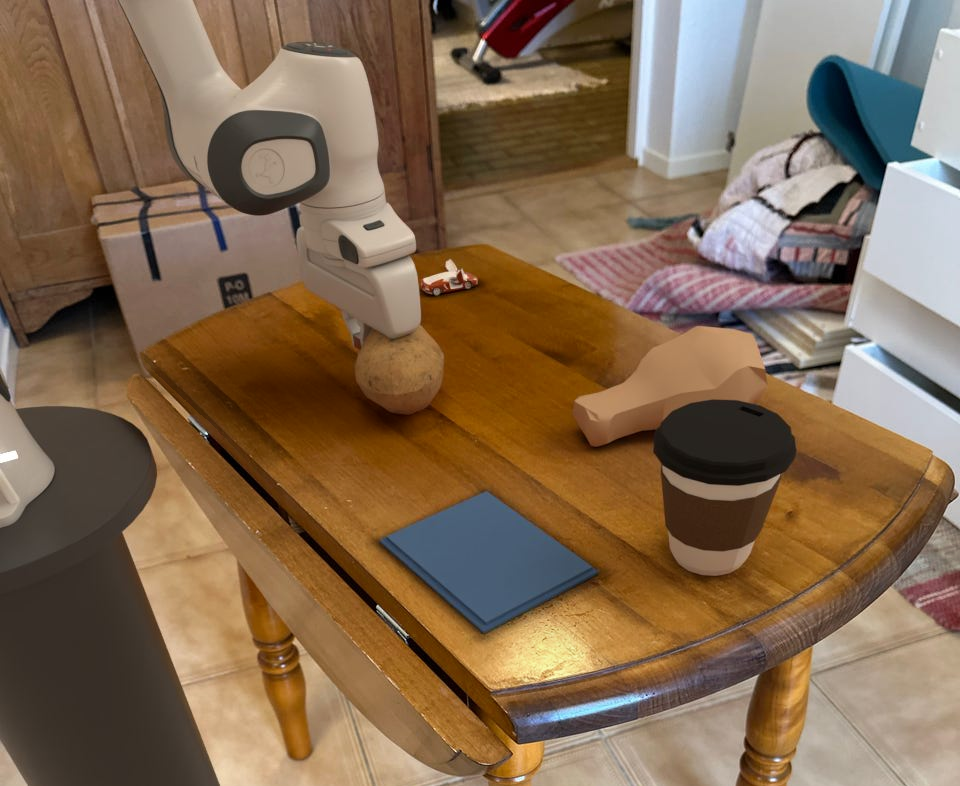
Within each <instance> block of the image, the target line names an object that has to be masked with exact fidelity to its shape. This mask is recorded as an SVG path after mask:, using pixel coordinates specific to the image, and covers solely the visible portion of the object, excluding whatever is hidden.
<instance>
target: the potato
mask: <svg viewBox="0 0 960 786" xmlns="http://www.w3.org/2000/svg"><path fill="white" fill-rule="evenodd" d="M444 365H445V355H444V353H443V351H442V349H441V347H440V346H439V344H438V343H437V342H436V341H435V339H434V338H433V337H432V336H431V335H430V334H429V333H428V332H427V331H426V329H425V328H424V327H423V325H421V324H420V325H419V327H418V329H417V330H416V331H415V332H413V333H411V334H408V335H406V336H403V337H400V338H397V339H390V338H388V337H387V336H385V335H384V334H382V333H380V332H378V331H377V330H375V329H373V328H372V330H371V331H370V333H369V334H368V336H367V338H366V339H365V341H364V343H363V346H362V348H361V350H358V353H357V357H356V360H355V363H354V375H355V381H356V383H357V385H358V386H359V388H360V390H361V391H362V393H363V394H364V396H365V397H366V399H369V400H371V401H372V402H374V403H375V404H377V405H379V406H380V407H382V408H383V409H385V410H386V411H387V412H389V413H391V414H398V415H404V416H405V415H407V416H411V415H413V414H415V413H417V412H420V411H422V410H425V409H426V408H427V407H429V406H430V404H431V402H432V401H433V400H434V399H435V397H436V395H437V393H438V392H439V390H440V388H441V386H442V384H443V379H444V367H445V366H444Z"/></svg>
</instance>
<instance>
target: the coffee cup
mask: <svg viewBox="0 0 960 786" xmlns="http://www.w3.org/2000/svg"><path fill="white" fill-rule="evenodd" d="M653 437H654V438H653V449H652V452H653V454H654V455H655V457H656V458H657V459H658V461H659V463H660V479H661V490H662V502H663V512H664V524H665V528H666V529H667V531H668V532H667V534H668V542H669V544H668V545H669V550H670V552H671V554H672V556H673V558H674V560H675V561H676V563H677V564H678V565H679V566H681V567H682V568H683V569H685V570H687V571H688V572H691V573H695V574H698V575H700V576H711V577H718V576H723V575H727V574H728V575H729V574H731V573H733V572H734V571H736V570H738V569H740V568H741V567H742V565H743V564H744V563H745V562H746V560H747V559H748V558H749V556H750V555H751V553H752V550H753V547H754V544H755V542H756V540H757V538H758V537H759V535H760V533H761V532H762V530H763V527H764V525H765V522H766V520H767V517H768V514H769V512H770V509H771V506H772V503H773V501H774V499H775V495H776V493H777V490H778V488H779V485H780V483H781V480H782V474H783V473H785V472H787V470H788V469H789V467H790V466H791V465H792V463H793V462H794V461H795V459H796V456H797V443H796V437H795V435H793V433H792V427H791V426H790V425H789V423H787V422H786V421H785V419H784V418H783V417H782V416H780V414H778V413H777V412H774V411H773V410H770V409H769V408H766V407H764V406H762V405H760V404H757V403H755V404H752V403H747V402H743V401H738V400H716V399H712V400H706V401H700V402H694V403H689V404H687V405H685V406H682V407H680V408H678V409H676V410H673V411H672V412H671V413H670V414H669V415H668V416H667V417H666V418H665V419H664V420H663V421H662V422H661V425H660V427H659V428H658V429H655V430H654V436H653Z"/></svg>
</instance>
